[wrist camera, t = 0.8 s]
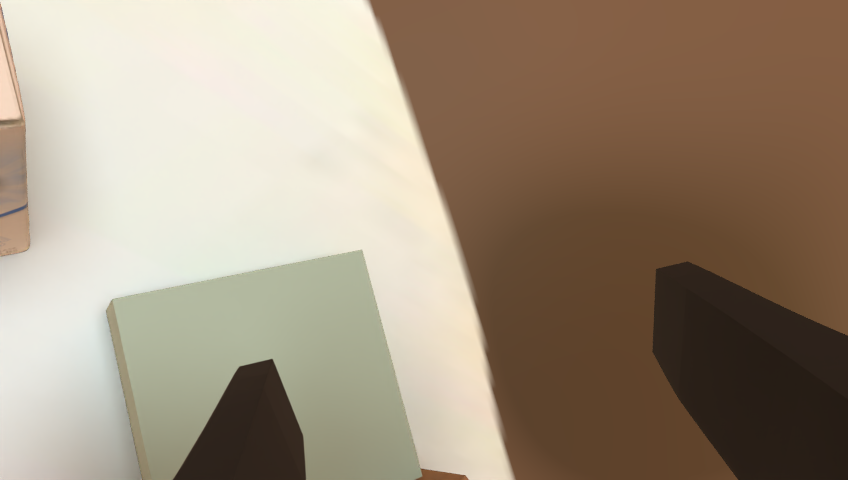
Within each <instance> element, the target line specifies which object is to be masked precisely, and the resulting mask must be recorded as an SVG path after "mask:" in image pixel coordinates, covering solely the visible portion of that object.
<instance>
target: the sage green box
mask: <svg viewBox="0 0 848 480" xmlns="http://www.w3.org/2000/svg"><path fill="white" fill-rule="evenodd" d="M106 313H107V318H108V322H109V327H110V332H111V336H112V341H113V346H114V350H115V355H116V359H117V364H118V369H119V373H120V378H121V383H122V387H123V392H124V397H125V401H126V406H127V411H128V415H129V420H130V424H131V429H132V434H133V438H134V443H135V448H136V452H137V457H138V462H139V466H140V471H141V475H142V480H173V478H174V477H175V475H176V474H177V472H178V471H179V469H180V467H181V466H182V464H183V462H184V461H185V459H186V457H187V456H188V454H189V452H190V451H191V449H192V447H193V446H194V444H195V442H196V441H197V439H198V437H199V436H200V434H201V432H202V431H203V429H204V427H205V425H206V424H207V422H208V420H209V418H210V417H211V415H212V413H213V411H214V409H215V408H216V406H217V404H218V402H219V400H220V399H221V397H222V395H223V393H224V391H225V390H226V388H227V386H228V384H229V382H230V381H231V379H232V377H233V375H234V374H235V372H236V370H237V369H238V368H239V366H243V365H248V364H252V363H256V362H260V361H265V360H269V359H273V361H274V363H275V366H276V368H277V371H278V373H279V376H280V378H281V381H282V383H283V386H284V388H285V391H286V393H287V396H288V398H289V401H290V404H291V406H292V409H293V411H294V414H295V416H296V419H297V421H298V424H299V426H300V429H301V431H302V434H303V438H304V453H305V468H306V480H415V479H417V478H420V477H422V473H421V469H420V465H419V461H418V458H417V454H416V450H415V446H414V443H413V439H412V435H411V431H410V428H409V424H408V420H407V416H406V413H405V409H404V405H403V401H402V398H401V394H400V390H399V386H398V383H397V379H396V375H395V371H394V368H393V364H392V360H391V356H390V353H389V349H388V345H387V341H386V338H385V334H384V330H383V326H382V323H381V319H380V315H379V311H378V308H377V304H376V300H375V296H374V293H373V289H372V285H371V281H370V278H369V274H368V270H367V266H366V263H365V259H364V255H363V251H362V250H358V251H353V252H348V253H343V254H338V255H333V256H328V257H323V258H318V259H313V260H308V261H303V262H298V263H293V264H288V265H283V266H278V267H273V268H267V269H262V270H257V271H252V272H247V273H242V274H237V275H232V276H227V277H222V278H217V279H212V280H207V281H202V282H197V283H192V284H187V285H182V286H177V287H172V288H167V289H162V290H157V291H152V292H147V293H141V294H136V295H131V296H126V297H121V298H116V299H112V301H111V303H110V304H109V306H108V308H107V310H106Z"/></svg>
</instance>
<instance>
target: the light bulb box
mask: <svg viewBox="0 0 848 480" xmlns="http://www.w3.org/2000/svg"><path fill="white" fill-rule="evenodd" d="M25 132H26V129H25V117H24V111H23V106H22V101H21V95H20V90H19V85H18V81H17V76H16V69H15V66H14V62H13V56H12V51H11V48H10V43H9V38H8V33H7V29H6V25H5V21H4V16H3V12H2V7H1V4H0V256H4V255H9V254H14V253H19V252H23V251H26V250H27V249H28V248H29V246H30V236H29V214H28V197H27V172H26V143H25Z"/></svg>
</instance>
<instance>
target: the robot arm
mask: <svg viewBox="0 0 848 480" xmlns="http://www.w3.org/2000/svg"><path fill="white" fill-rule="evenodd" d="M653 353H654V355H655V357H656V359H657V361H658V362H659V365H660V367H661V368H662V370H663V372H664V374H665V376H666V378H667V379H668V381H669V383H670V385H671V386H672V388H673V390H674V392H675V393H676V395H677V397H678V398H679V400H680V401H681V403H682V404H683V405H684V407H685V408H686V410H687V411H688V412H689V414H690V415H691V416H692V418H693V419H694V421H695V422H696V423H697V425H698V426H699V427H700V429H701V430H702V431H703V433H704V434H705V436H706V437H707V438H708V440H709V441H710V442H711V444H712V445H713V446H714V448H715V449H716V450H717V452H718V453H719V454H720V456H721V457H722V458H723V460H724V461H725V462H726V464H727V465H728V466H729V468H730V469H731V471H732V472H733V473H734V475H735V476H736V477H737V478H738V480H848V336H847V335H845V334H843V333H840V332H838V331H835V330H833V329H831V328H828V327H826V326H824V325H822V324H819V323H817V322H814V321H813V320H810V319H808V318H806V317H804V316H802V315H799V314H797V313H795V312H792V311H791V310H788V309H786V308H784V307H782V306H780V305H778V304H776V303H774V302H772V301H770V300H767V299H765V298H763V297H761V296H759V295H757V294H755V293H753V292H751V291H749V290H747V289H745V288H743V287H741V286H739V285H736V284H734V283H733V282H730V281H728V280H726V279H724V278H722V277H720V276H718V275H716V274H714V273H712V272H710V271H707V270H705V269H703V268H701V267H699V266H697V265H694V264H692V263H690V262H684V263H680V264H675V265H671V266H667V267H663V268H659V269H656V284H655V307H654V331H653ZM173 480H306V468H305V453H304V438H303V434H302V431H301V429H300V426H299V424H298V421H297V419H296V416H295V414H294V411H293V409H292V406H291V404H290V401H289V398H288V396H287V393H286V391H285V388H284V386H283V383H282V381H281V378H280V376H279V373H278V371H277V368H276V366H275V363H274V361H273V359H269V360H265V361H260V362H256V363H252V364H248V365H243V366H239V368H238V369H237V370H236V372H235V374H234V375H233V377H232V379H231V381H230V382H229V384H228V386H227V388H226V390H225V391H224V393H223V395H222V397H221V399H220V400H219V402H218V404H217V406H216V408H215V409H214V411H213V413H212V415H211V417H210V418H209V420H208V422H207V424H206V425H205V427H204V429H203V431H202V432H201V434H200V436H199V437H198V439H197V441H196V442H195V444H194V446H193V447H192V449H191V451H190V452H189V454H188V456H187V457H186V459H185V461H184V462H183V464H182V466H181V467H180V469H179V471H178V472H177V474H176V475H175V477H174V478H173Z"/></svg>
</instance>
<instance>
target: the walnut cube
mask: <svg viewBox="0 0 848 480" xmlns="http://www.w3.org/2000/svg"><path fill="white" fill-rule="evenodd" d="M421 473H422V477H420V478H417V479H415V480H468V478H467V477H466V476H465V475H459V474H452V473H446V472H439V471H432V470H426V469H421Z"/></svg>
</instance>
